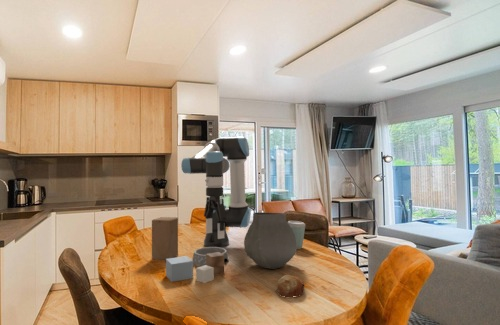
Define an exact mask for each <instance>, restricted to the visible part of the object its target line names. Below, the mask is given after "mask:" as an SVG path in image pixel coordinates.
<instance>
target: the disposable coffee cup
mask: <svg viewBox="0 0 500 325" xmlns="http://www.w3.org/2000/svg"><path fill="white" fill-rule="evenodd" d="M287 222H288V224H289V225H290V226H291V228H292V230H293V232H294V234H295V238H296V242H297V249H296V250H301V249H303V245H304V237H305V229H306V223H304V222H302V221H298V220H288V221H287Z"/></svg>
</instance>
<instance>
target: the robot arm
mask: <svg viewBox="0 0 500 325" xmlns="http://www.w3.org/2000/svg"><path fill="white" fill-rule="evenodd" d="M249 156H250V146H249V141H248V139H247V138H246V137H245V136H224V137H223V136H221V137H217V138H214V139H211V140H209V141H208V142H206V144H204V146H203V148H202V149H201V150H199V151H198V152H197V153H196V154H195V155H193V156H192V157H184V158H183V159H182V160H181V163H180V164H181V167H180V168H181V171H182V172H183V173H184V174H189V175H193V174H205V177H206V178H205V180H204V181H205V186H206V188H205V196H206V199H205V200H206V202H205V208H204V213H203V216H204V217H205V236H204V240H203V245H204V246H205V247H219V248H223V247H227V246H229V245H230V240H229V237H228V233H227V228H240V229H241V228H247V227H248V226H250V225H249V224H250V221H251V214H252V213H251V212H252V207H251V208H250V207H249V204H248V203H247V202H246V182H245V180H246V179H245V178H246V176H245V175H246V174H245V162H246V161H247V159H248V157H249ZM228 171H229V178H230V179H229V180H230V203H229V204H228V207H227V205H226V204H225V203H224V201H225V199H224V198H221V197H222V196H223V195H224V188H223V186H224V174H225V173H227V172H228Z"/></svg>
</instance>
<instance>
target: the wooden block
mask: <svg viewBox="0 0 500 325" xmlns="http://www.w3.org/2000/svg"><path fill="white" fill-rule="evenodd" d="M178 255H179V218H178V217H176V216H175V217H171V216H170V217H169V216H162V217H157V218H154V219H151V259H152V260H154V261H155V260H157V261H158V260H161V261H166V259H169V258H176V257H178Z"/></svg>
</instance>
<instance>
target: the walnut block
mask: <svg viewBox="0 0 500 325" xmlns="http://www.w3.org/2000/svg"><path fill="white" fill-rule="evenodd" d="M206 265H207V266H210V267H214V277H215V276H220V275H224V274H225V259H224V255H223V254H221V253H220V252H216V253H209V254H206Z"/></svg>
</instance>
